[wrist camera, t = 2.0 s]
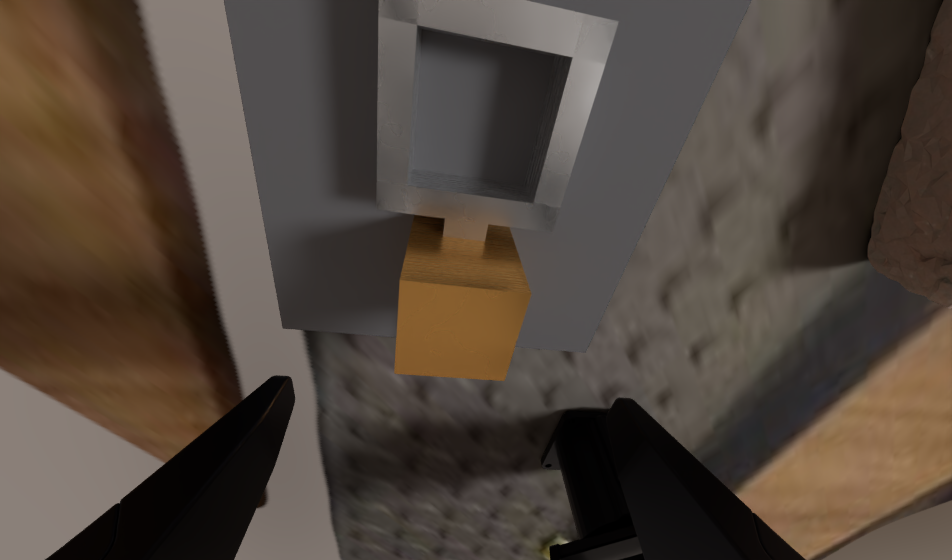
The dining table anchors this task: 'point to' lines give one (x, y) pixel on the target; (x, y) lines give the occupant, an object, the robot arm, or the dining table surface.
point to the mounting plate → (460, 150)
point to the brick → (921, 181)
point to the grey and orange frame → (476, 181)
